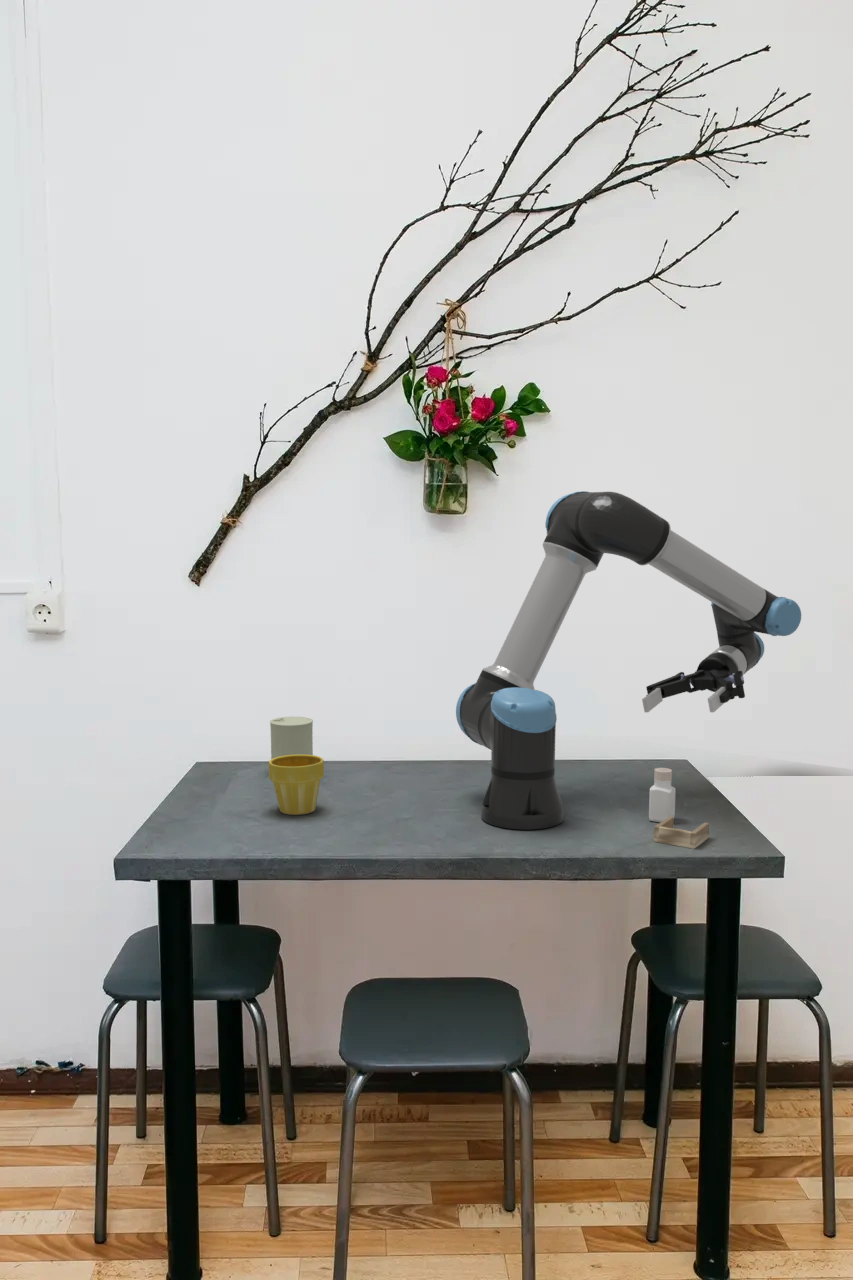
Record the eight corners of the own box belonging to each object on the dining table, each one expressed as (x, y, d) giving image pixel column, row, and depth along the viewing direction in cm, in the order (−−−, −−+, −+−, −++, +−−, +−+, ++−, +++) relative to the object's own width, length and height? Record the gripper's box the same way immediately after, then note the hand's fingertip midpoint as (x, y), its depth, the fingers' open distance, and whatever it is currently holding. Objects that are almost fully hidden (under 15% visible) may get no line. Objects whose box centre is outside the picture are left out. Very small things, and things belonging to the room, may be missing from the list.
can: (277, 767, 235) (276, 713, 233) (318, 768, 233) (317, 715, 232) (265, 777, 225) (264, 722, 224) (307, 779, 224) (307, 723, 223)
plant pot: (263, 806, 204) (262, 756, 203) (315, 800, 208) (315, 751, 207) (277, 820, 195) (276, 768, 194) (331, 814, 199) (330, 763, 198)
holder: (653, 841, 183) (654, 826, 183) (668, 830, 189) (669, 816, 189) (694, 848, 179) (695, 833, 179) (708, 837, 185) (709, 823, 185)
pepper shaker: (675, 819, 196) (677, 768, 195) (669, 824, 193) (670, 773, 192) (654, 816, 198) (655, 766, 197) (647, 821, 195) (649, 770, 194)
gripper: (783, 685, 211) (743, 724, 195) (669, 687, 227) (622, 723, 211) (777, 649, 209) (736, 686, 194) (662, 654, 225) (615, 688, 210)
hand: (677, 705), depth 203 cm, fingers open, 13 cm apart
